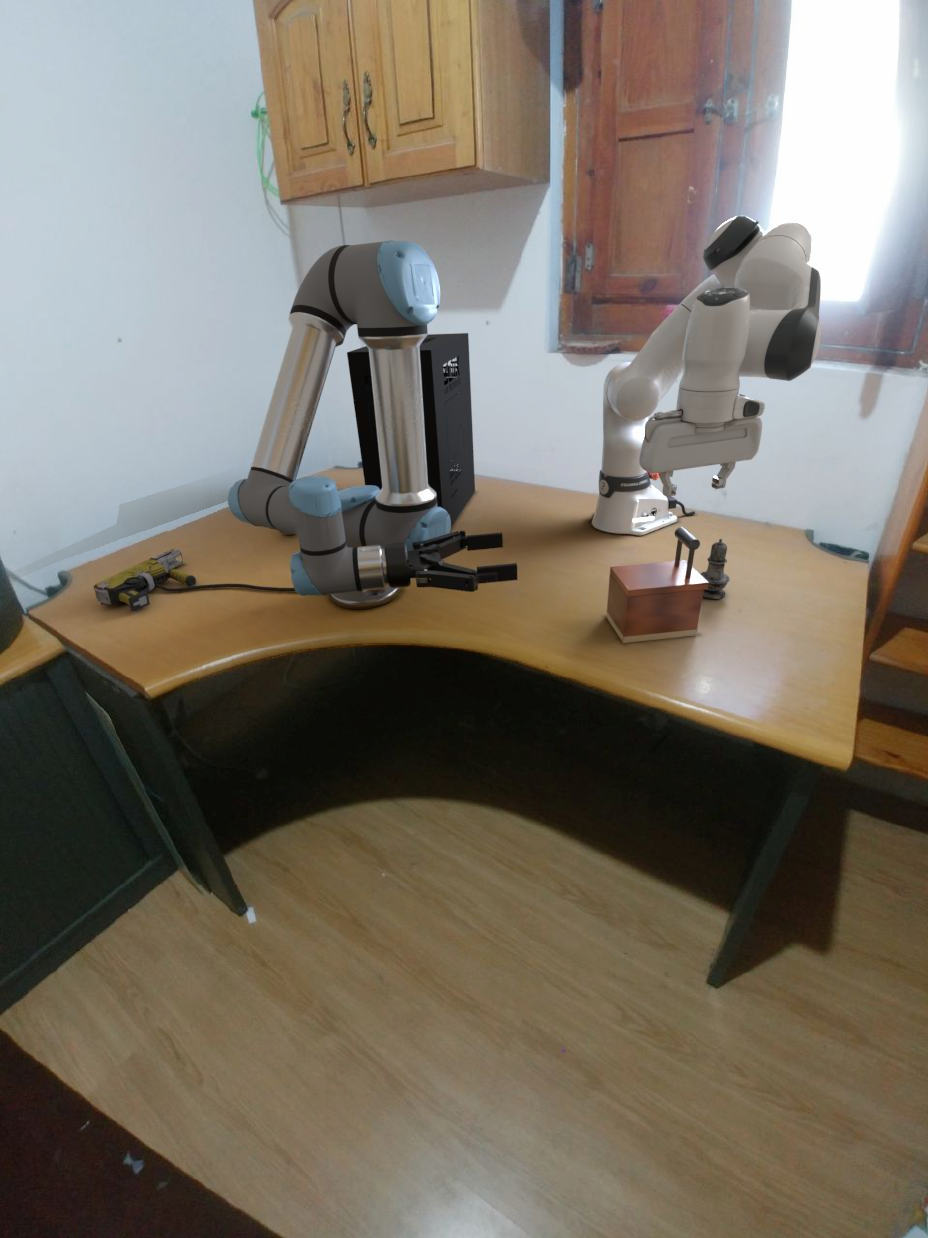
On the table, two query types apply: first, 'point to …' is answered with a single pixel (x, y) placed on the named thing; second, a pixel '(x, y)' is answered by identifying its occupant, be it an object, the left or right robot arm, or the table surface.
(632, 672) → the table surface
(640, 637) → the chest
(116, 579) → the toy gun
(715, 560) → the grey chess piece
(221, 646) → the table surface
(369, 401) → the cardboard box
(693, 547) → the lid
